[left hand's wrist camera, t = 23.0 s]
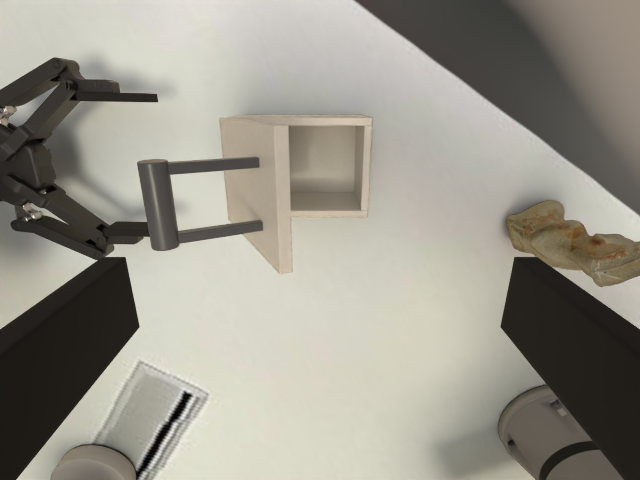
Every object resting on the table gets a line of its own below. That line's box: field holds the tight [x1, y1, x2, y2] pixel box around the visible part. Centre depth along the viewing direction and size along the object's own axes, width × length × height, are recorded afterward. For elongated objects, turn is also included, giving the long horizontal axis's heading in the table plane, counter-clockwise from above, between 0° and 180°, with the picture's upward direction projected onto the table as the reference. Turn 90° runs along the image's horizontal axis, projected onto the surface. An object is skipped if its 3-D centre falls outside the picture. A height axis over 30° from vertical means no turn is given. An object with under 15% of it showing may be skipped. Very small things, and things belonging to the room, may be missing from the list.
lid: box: [137, 118, 292, 274], centre depth 28 cm, size 14×10×8 cm
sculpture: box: [506, 200, 640, 287], centre depth 40 cm, size 6×7×15 cm
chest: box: [227, 115, 372, 217], centre depth 40 cm, size 14×10×9 cm
